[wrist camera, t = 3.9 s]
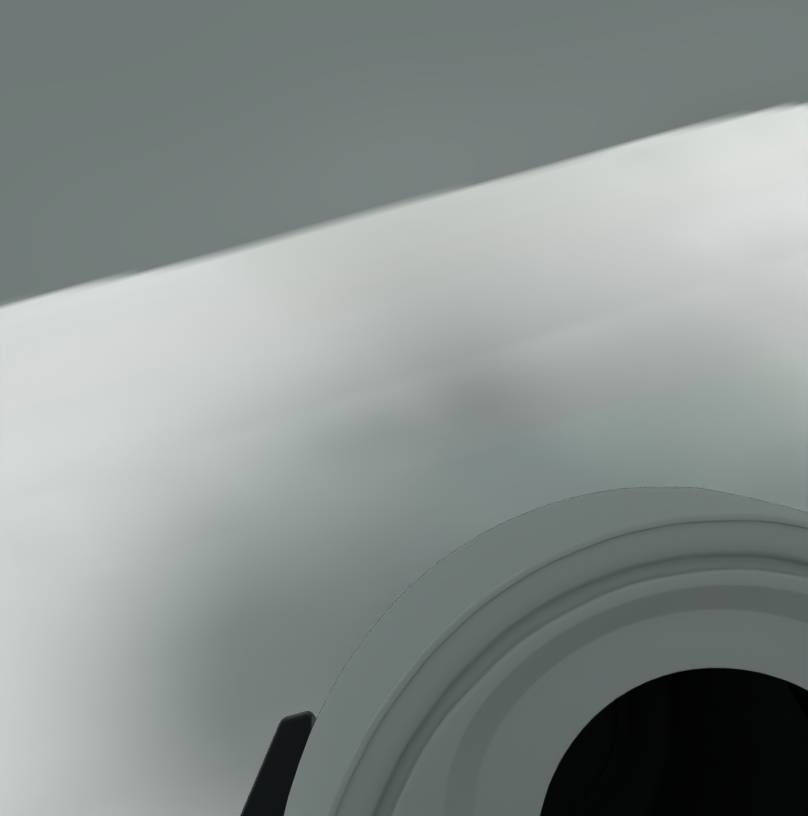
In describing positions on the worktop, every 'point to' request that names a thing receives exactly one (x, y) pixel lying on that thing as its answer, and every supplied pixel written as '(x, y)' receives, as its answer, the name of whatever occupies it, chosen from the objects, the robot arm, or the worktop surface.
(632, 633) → the beverage can
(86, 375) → the worktop surface
